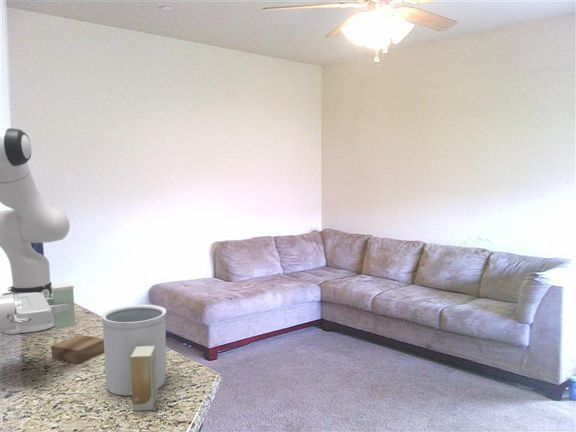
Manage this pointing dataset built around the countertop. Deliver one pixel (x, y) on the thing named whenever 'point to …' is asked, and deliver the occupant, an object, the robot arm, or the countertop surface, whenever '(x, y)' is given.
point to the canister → (63, 295)
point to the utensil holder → (132, 343)
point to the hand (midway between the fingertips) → (66, 303)
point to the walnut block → (78, 349)
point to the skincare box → (144, 378)
